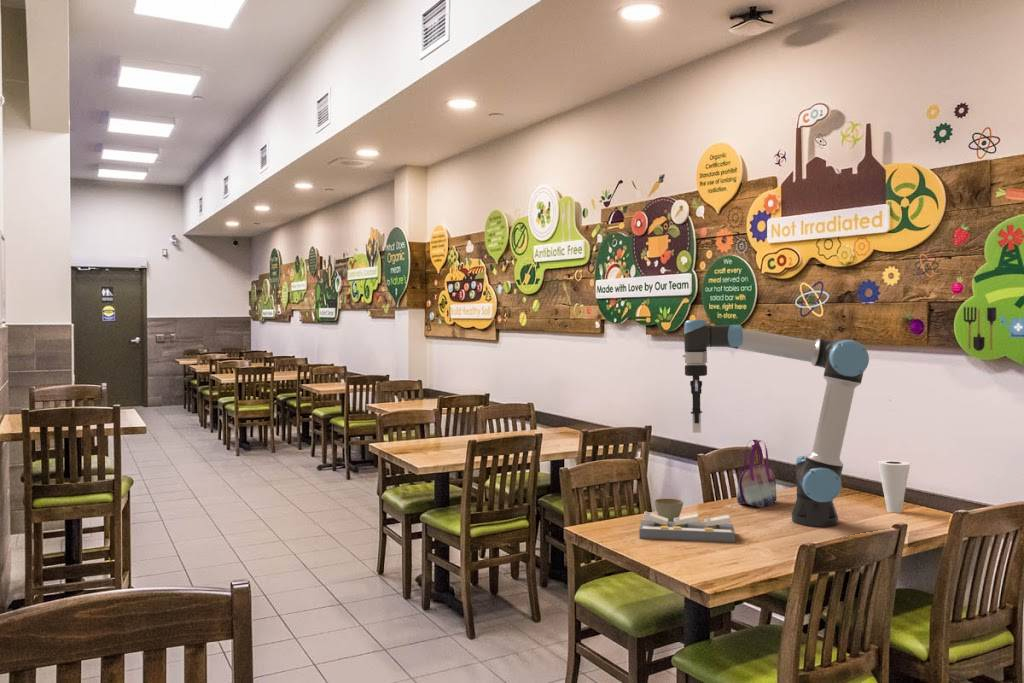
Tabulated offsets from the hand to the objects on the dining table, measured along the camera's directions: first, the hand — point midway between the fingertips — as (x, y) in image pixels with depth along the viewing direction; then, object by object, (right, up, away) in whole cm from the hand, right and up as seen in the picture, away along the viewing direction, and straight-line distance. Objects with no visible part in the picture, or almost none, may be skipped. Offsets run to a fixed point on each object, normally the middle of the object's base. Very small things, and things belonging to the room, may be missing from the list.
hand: (696, 432), depth 259 cm
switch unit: (-6, -33, -13) cm, 36 cm away
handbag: (+31, -32, +32) cm, 55 cm away
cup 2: (+77, -31, +16) cm, 85 cm away
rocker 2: (-6, -28, -12) cm, 31 cm away
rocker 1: (-16, -28, -10) cm, 33 cm away
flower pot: (-8, -33, +7) cm, 34 cm away
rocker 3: (+3, -27, -14) cm, 31 cm away
